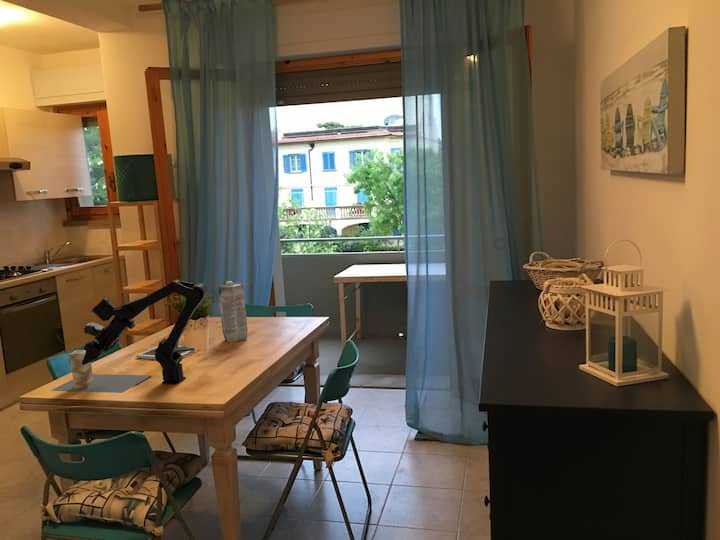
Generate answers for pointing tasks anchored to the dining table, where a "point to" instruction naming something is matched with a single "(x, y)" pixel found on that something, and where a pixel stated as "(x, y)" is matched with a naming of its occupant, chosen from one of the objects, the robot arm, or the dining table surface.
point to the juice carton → (233, 311)
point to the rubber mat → (107, 383)
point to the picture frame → (150, 353)
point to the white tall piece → (81, 370)
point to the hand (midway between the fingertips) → (88, 360)
